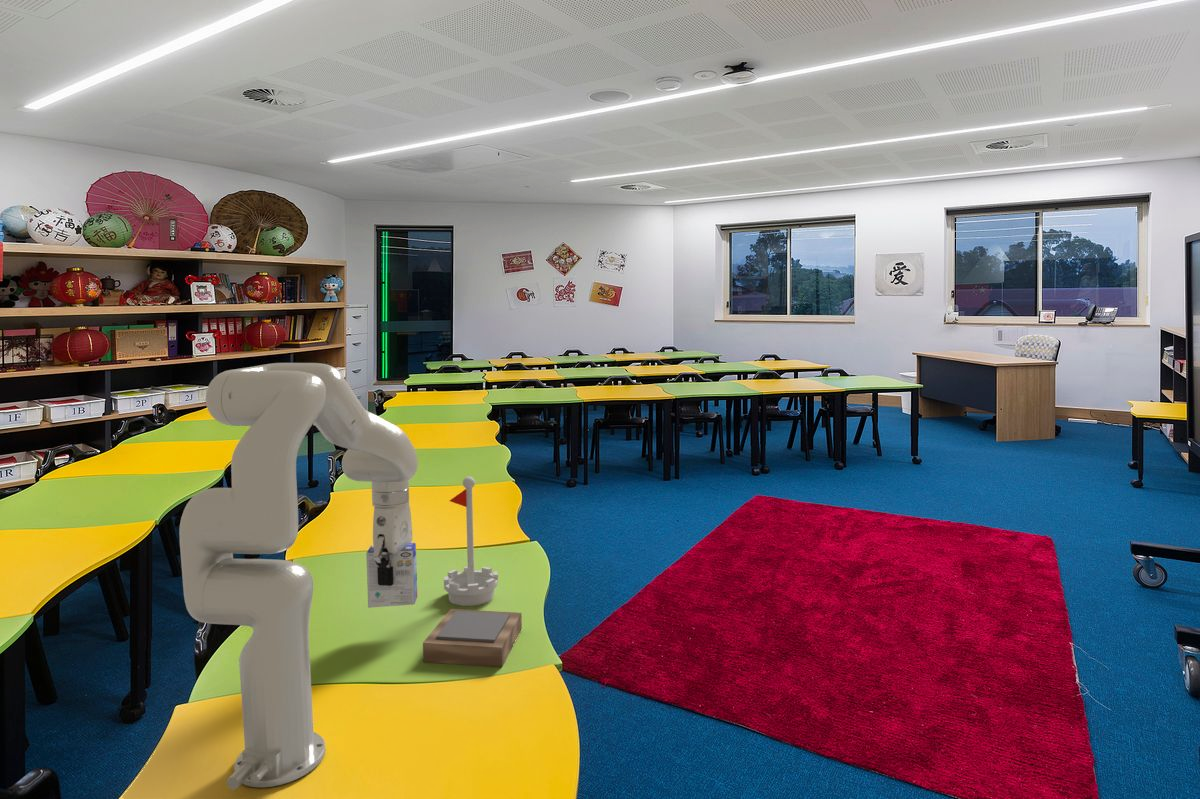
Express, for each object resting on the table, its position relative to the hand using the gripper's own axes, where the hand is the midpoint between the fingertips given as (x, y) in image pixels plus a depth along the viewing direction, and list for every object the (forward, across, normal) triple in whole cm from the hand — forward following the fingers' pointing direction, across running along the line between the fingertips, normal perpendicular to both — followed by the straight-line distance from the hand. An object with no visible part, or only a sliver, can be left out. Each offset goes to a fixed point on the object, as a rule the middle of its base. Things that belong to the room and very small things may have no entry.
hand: (393, 578), depth 146 cm
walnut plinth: (+12, -3, -19) cm, 23 cm away
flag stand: (+12, +21, -10) cm, 26 cm away
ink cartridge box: (+5, 0, 0) cm, 5 cm away
